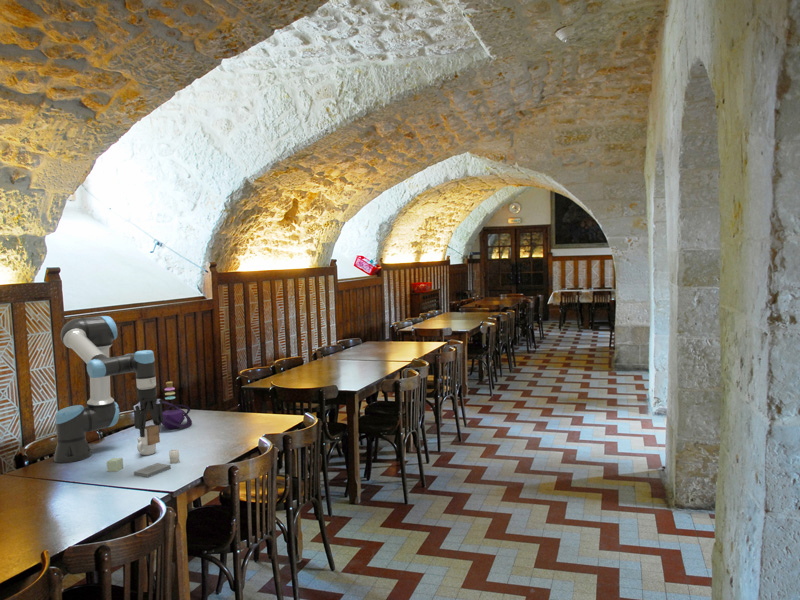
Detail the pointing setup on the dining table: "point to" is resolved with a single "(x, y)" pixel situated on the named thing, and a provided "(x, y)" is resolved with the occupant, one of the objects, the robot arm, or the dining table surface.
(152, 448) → the cup
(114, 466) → the sage cube
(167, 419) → the decorative bottle
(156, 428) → the walnut block
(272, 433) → the dining table surface
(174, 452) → the stone cylinder
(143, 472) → the slate board
